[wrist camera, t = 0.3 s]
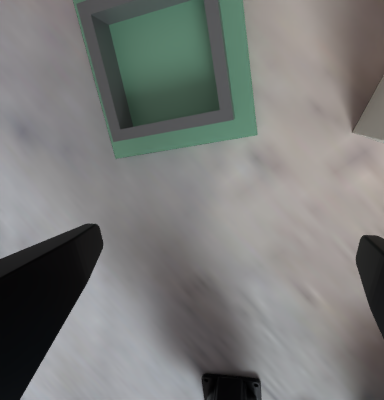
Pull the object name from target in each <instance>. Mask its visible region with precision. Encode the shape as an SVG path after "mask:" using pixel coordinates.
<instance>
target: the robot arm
mask: <svg viewBox="0 0 384 400" xmlns="http://www.w3.org/2000/svg"><path fill="white" fill-rule="evenodd" d="M102 249H103V239H102V235H101V231H100V228H99V226H98V225H97V224H85V225H82V226H80V227H77V228H75V229H72V230H70V231H67V232H65V233H63V234H60V235H58V236H55V237H53V238H50V239H48V240H45V241H43V242H41V243H38V244H36V245H33V246H31V247H28V248H26V249H24V250H21V251H19V252H16V253H14V254H11V255H9V256H6V257H4V258H2V259H0V400H20V398H21V397H22V395H23V393H24V392H25V390H26V388H27V386H28V385H29V383H30V381H31V379H32V378H33V376H34V374H35V372H36V371H37V369H38V367H39V366H40V364H41V362H42V360H43V359H44V357H45V355H46V353H47V352H48V350H49V348H50V347H51V345H52V343H53V341H54V340H55V338H56V336H57V334H58V333H59V331H60V329H61V328H62V326H63V324H64V322H65V321H66V319H67V317H68V315H69V314H70V312H71V310H72V308H73V307H74V305H75V303H76V302H77V300H78V298H79V296H80V295H81V293H82V291H83V289H84V288H85V286H86V284H87V282H88V280H89V278H90V276H91V274H92V271H93V269H94V267H95V265H96V262H97V260H98V258H99V256H100V253H101V251H102ZM356 264H357V268H358V271H359V274H360V278H361V281H362V284H363V287H364V291H365V294H366V297H367V300H368V303H369V306H370V309H371V311H372V314H373V316H374V318H375V321H376V323H377V325H378V327H379V330H380V332H381V334H382V336H383V339H384V239H383V238H381V237H379V236H376V235H363V236H362V237H361V239H360V242H359V246H358V250H357V255H356ZM202 384H203V391H204V399H205V400H261V382H260V380H259V379H255V378H245V377H234V376H223V375H212V374H204V375H203V376H202Z"/></svg>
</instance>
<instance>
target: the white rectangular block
mask: <svg viewBox="0 0 384 400" xmlns="http://www.w3.org/2000/svg"><path fill="white" fill-rule="evenodd" d="M352 133H355V134H358V135H361V136H364V137H367V138H369V139H372V140H375V141H378V142H381V143H384V75H383V77H382V79H381V81H380V83H379V85H378V86H377V88H376V90H375V92H374V94H373V96H372V97H371V99H370V101H369V103H368V105H367V107H366V108H365V110H364V112H363V114H362V116H361V118H360V119H359V121H358V123H357V125H356V127H355V129H354V130H353V132H352Z"/></svg>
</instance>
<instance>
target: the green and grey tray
mask: <svg viewBox="0 0 384 400" xmlns="http://www.w3.org/2000/svg"><path fill="white" fill-rule="evenodd" d="M73 3H74V6H75V10H76V14H77V17H78V21H79V25H80V29H81V32H82V36H83V40H84V43H85V47H86V51H87V54H88V58H89V62H90V66H91V69H92V73H93V77H94V80H95V84H96V88H97V92H98V95H99V99H100V103H101V106H102V110H103V114H104V117H105V121H106V125H107V129H108V132H109V136H110V140H111V143H112V147H113V151H114V155H115V158H116V159H117V158H123V157H129V156H135V155H141V154H147V153H153V152H159V151H165V150H171V149H177V148H183V147H189V146H195V145H201V144H207V143H213V142H219V141H225V140H231V139H237V138H243V137H249V136H255V135H257V126H256V117H255V108H254V99H253V90H252V81H251V72H250V62H249V53H248V44H247V35H246V26H245V17H244V8H243V0H73Z"/></svg>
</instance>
